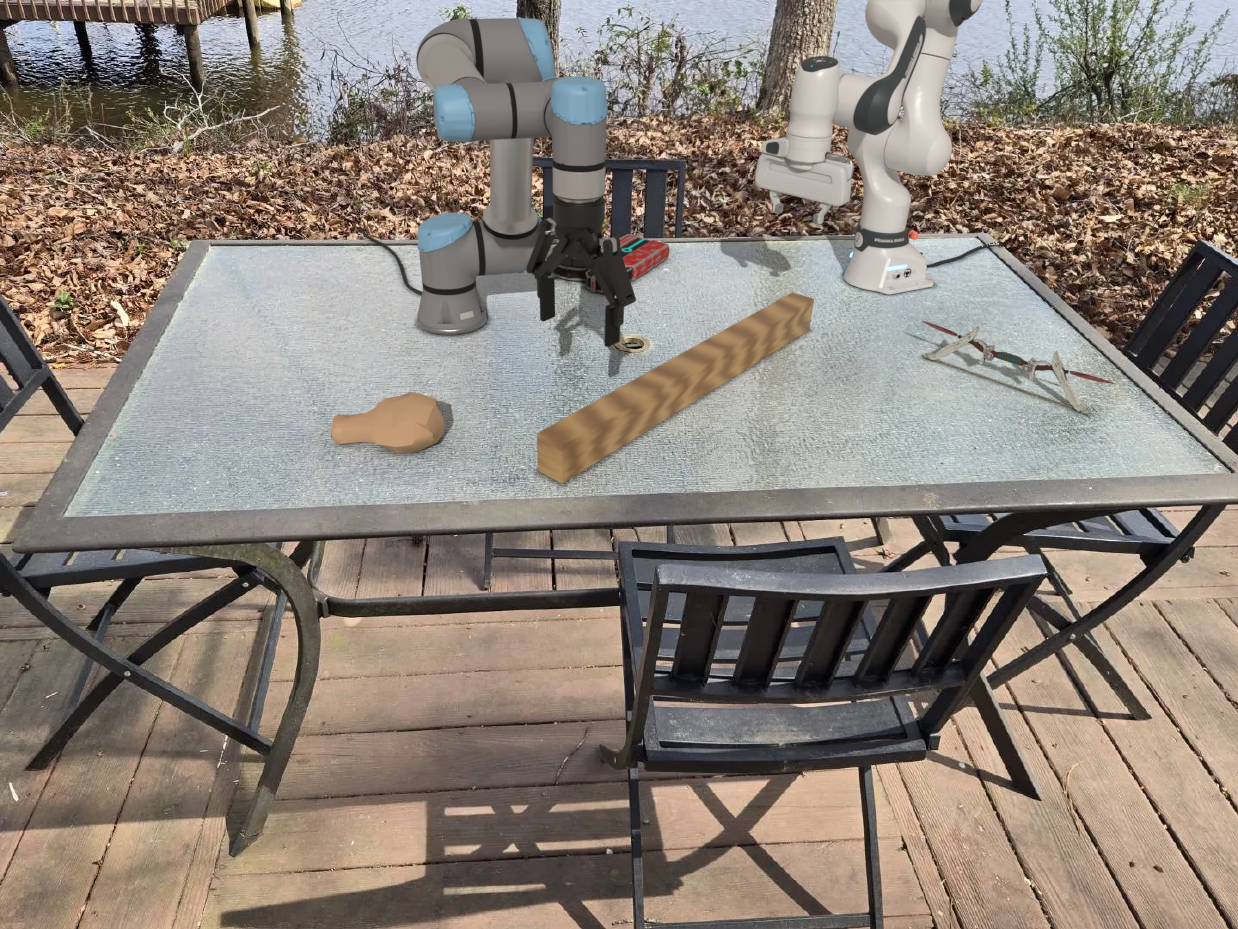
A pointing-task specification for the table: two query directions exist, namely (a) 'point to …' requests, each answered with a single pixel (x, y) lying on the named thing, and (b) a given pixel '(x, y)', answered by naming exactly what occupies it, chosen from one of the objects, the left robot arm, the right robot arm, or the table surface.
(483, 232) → the left robot arm
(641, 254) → the gun
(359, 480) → the table surface
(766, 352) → the bar
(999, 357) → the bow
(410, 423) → the squash
